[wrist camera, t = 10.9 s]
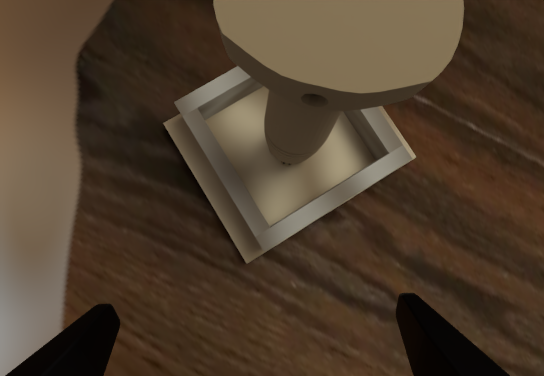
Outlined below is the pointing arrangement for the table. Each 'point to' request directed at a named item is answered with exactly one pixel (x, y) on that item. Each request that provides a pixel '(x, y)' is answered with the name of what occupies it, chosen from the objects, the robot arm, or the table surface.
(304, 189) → the board
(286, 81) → the handle
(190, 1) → the table surface
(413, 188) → the table surface
